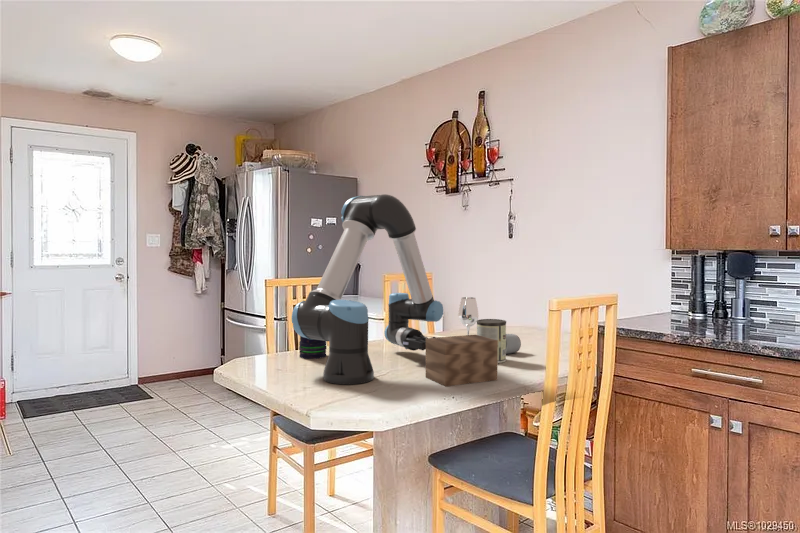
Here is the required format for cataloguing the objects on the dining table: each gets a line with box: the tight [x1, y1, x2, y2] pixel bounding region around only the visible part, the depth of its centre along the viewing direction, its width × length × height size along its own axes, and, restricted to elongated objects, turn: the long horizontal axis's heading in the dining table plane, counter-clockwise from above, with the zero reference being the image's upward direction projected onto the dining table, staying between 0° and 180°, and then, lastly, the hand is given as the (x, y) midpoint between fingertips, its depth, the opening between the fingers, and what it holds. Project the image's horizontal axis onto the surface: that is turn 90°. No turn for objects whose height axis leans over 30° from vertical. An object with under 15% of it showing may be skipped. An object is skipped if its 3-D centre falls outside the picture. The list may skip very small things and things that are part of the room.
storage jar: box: [298, 335, 327, 360], centre depth 201 cm, size 10×10×15 cm
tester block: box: [425, 334, 498, 387], centre depth 168 cm, size 18×12×12 cm, turn 115°
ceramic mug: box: [506, 333, 522, 355], centre depth 210 cm, size 11×8×8 cm
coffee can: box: [476, 318, 507, 364], centre depth 195 cm, size 10×10×14 cm
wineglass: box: [457, 296, 479, 335], centre depth 218 cm, size 8×8×20 cm
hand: (442, 349), depth 178 cm, fingers closed
